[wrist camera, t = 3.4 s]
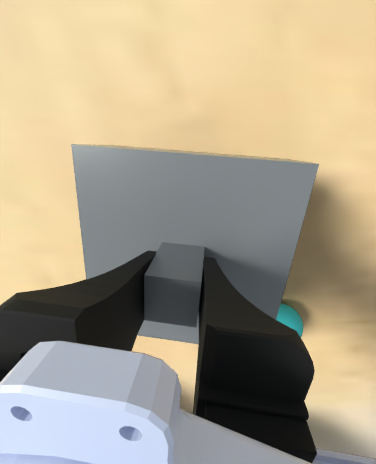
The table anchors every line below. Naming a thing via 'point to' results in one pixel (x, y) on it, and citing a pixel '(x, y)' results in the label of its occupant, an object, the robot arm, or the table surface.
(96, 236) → the gray square knob slab
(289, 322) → the ball
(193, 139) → the table surface
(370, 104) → the table surface
